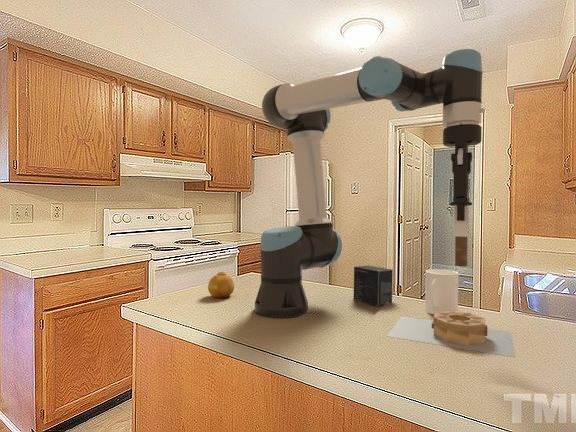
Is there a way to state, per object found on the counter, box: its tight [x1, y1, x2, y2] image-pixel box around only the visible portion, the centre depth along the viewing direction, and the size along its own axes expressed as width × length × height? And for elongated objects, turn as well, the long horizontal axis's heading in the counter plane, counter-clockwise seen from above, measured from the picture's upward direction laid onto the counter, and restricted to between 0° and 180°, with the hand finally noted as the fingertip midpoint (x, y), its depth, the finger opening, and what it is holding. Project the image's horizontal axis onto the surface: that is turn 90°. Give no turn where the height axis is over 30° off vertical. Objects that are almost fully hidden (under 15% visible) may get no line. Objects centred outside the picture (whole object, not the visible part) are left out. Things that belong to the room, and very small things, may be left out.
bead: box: [432, 310, 488, 345], centre depth 81 cm, size 11×10×4 cm
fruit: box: [207, 271, 235, 299], centre depth 121 cm, size 8×8×8 cm
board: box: [386, 316, 516, 358], centre depth 83 cm, size 24×16×1 cm, turn 62°
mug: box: [424, 268, 459, 316], centre depth 98 cm, size 12×8×12 cm
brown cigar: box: [454, 191, 469, 267], centre depth 80 cm, size 2×2×16 cm
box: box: [352, 264, 393, 307], centre depth 115 cm, size 11×7×10 cm, turn 34°
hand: (461, 235), depth 80 cm, fingers closed on brown cigar, 2 cm apart
